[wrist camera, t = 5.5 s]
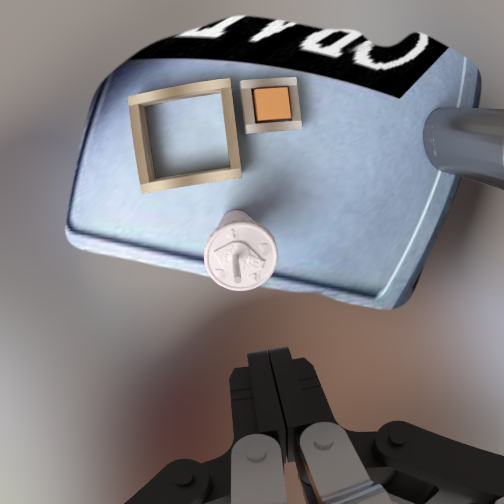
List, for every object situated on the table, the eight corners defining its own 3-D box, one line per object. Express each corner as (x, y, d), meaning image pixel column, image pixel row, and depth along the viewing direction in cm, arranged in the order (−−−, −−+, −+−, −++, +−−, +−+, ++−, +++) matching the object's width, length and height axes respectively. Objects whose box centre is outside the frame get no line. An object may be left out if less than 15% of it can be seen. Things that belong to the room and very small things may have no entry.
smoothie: (217, 191, 32) (213, 228, 19) (271, 207, 34) (302, 253, 21) (201, 244, 34) (191, 308, 21) (254, 257, 36) (272, 326, 23)
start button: (282, 91, 28) (287, 87, 25) (285, 119, 29) (291, 117, 27) (252, 93, 28) (254, 89, 25) (255, 121, 29) (258, 120, 26)
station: (289, 78, 28) (295, 73, 26) (298, 168, 32) (306, 170, 29) (135, 100, 28) (127, 97, 25) (148, 189, 31) (142, 194, 29)
